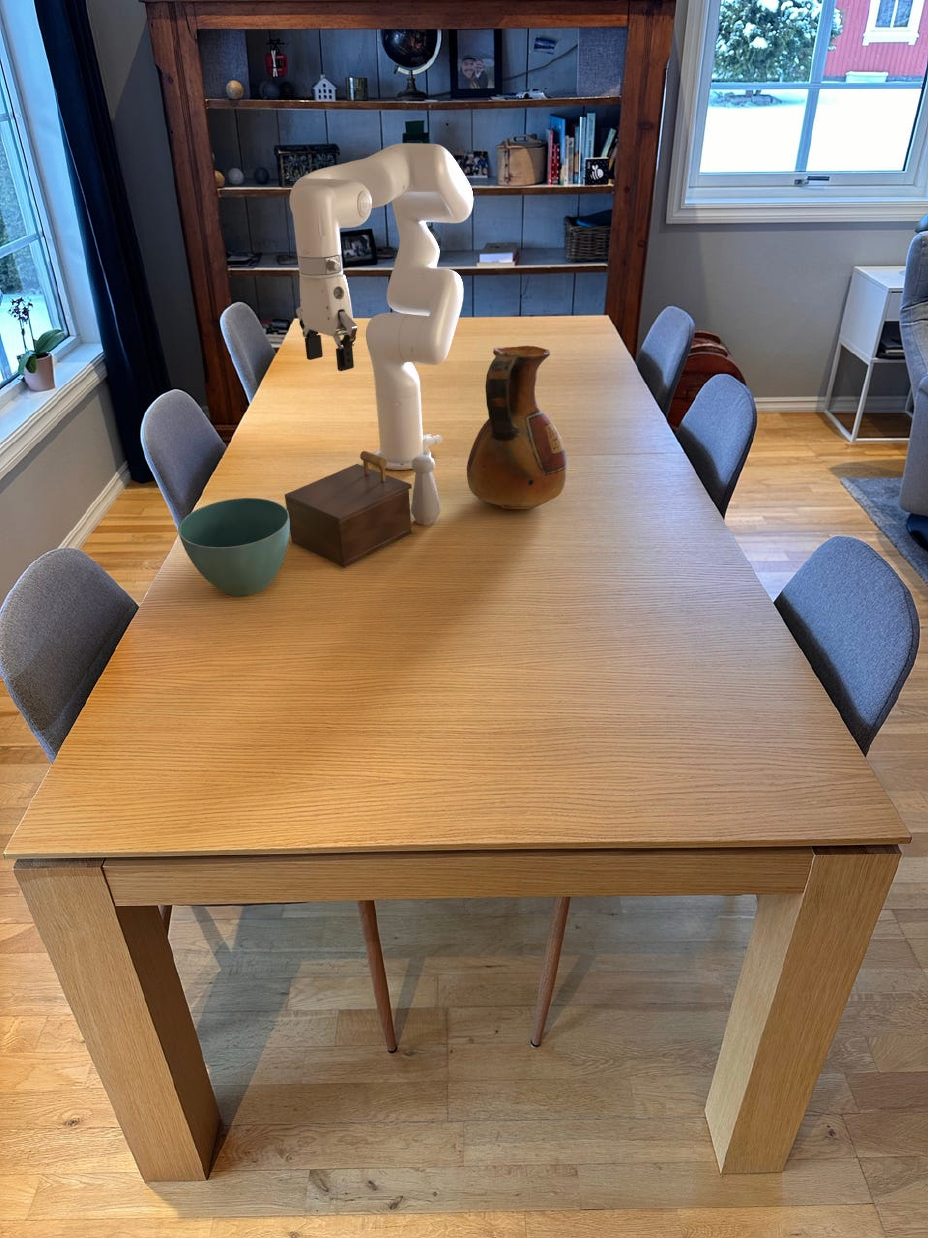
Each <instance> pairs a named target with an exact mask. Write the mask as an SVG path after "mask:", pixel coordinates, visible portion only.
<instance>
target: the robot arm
mask: <svg viewBox="0 0 928 1238" xmlns="http://www.w3.org/2000/svg"><path fill="white" fill-rule="evenodd" d="M289 193H290V194H289V202H288V203H289V208H290V211H291V213H292V220H293V228H294V229H293V230H294V238H295V246H296V247H295V248H296V256H297V265H298V274H299V275H298V276H299V303H300V305H299V306H298V307H297V308H296V310H295V312H296V316H297V318H298V320H299V321H298V322H299V324H298V325H299V327H300V328H301V330H302V332H301V334H302V336H303V338H304V344H305V345H304V346H305V355H306V359H307V360H308V361H312V360H317V359H320V358H323V356H324V355H323V353H324V351H323V345H322V335H326V336H328V337H332V338H333V340H334V342H335V345H336V346H337V348H335V357H336V366H337V367H336V368H337V371H338V372H344V371H348V370H351V369H353V368H355V366H354V365H355V364H354V363H355V361H354V351H353V350H354V349H353V347H354V346H355V342H356V339H357V332H358V324H357V323H356V322H355V321H354V317H353V309H352V308H353V307H352V302H351V296H350V289H349V286H348V282H347V278H346V275H345V274H344V268H343V267H344V266H343V257H342V255H343V254H342V246H341V245H342V243H341V231H340V229H345V228H348V229H349V228H357V227H360V226H361V225H363V224H364V223H365V222H367V220H368V219H369V217H370V215H371V212H372V209H375V208H380V207H384V206H386V205H388V204H389V203H391V206H392V210H393V215H394V219H395V222H396V223H395V224H396V226H397V231H398V237H399V246H398V250H397V254H396V257H395V261H394V264H393V268H392V271H391V275H390V278H389V282H388V284H387V290H386V302H387V305H388V306H389V308H390V309H391V310H393V311H395V312H382V313H378V314H376V315H374V316H372V317H371V319H370V320H369V321H368V323H367V326H366V329H365V342H366V346H367V350H368V354H369V357H370V360H371V365H372V372H373V380H374V390H375V391H374V392H375V402H376V403H375V404H376V416H377V427H378V438H379V440H378V441H379V449H377V450H376V451H375V452H374V454H375V455H378V456H381V457H384V458H386V459H387V464H386V466H385V470H393V471H404V470H407V471H408V470H413V469H412V461H413V459H414V458H415V457H417V456H430V457H431V458H432V451H431V450H430V448H432V446H436V445H440V444H442V443H443V442H444V439H443V437H442V434H437V435H434V436H432V434H431V433H427V434H424V433H423V432H424V431H423V416H422V397H421V381H420V377H419V374H418V372H417V370H416V368H415V366H414V365H423V366H424V365H425V366H437V365H441V364H442V363H443V362H444V361H445V360H446V359H447V357H448V356H449V355H448V354H449V352H450V349H451V347H452V346H451V345H452V344H453V343H452V342H453V339H454V335H455V332H456V329H457V325H458V322H459V318H460V315H461V311H462V307H463V301H464V283H463V281H462V278H461V276H460V275H459V274H458V272H457V271H454V270H453V269H450V268H446V267H437V266H438V263H439V258H440V248H439V245H438V242H437V241H436V239H435V237H434V234H432V232H431V231H430V229H429V228H428V226H427V224H426V223H441V224H442V223H444V224H460V223H463V222H464V221H466V220H468V218H469V217H470V215H471V214H472V211H473V207H474V206H473V205H474V196H473V190H472V187H471V185H470V183H469V180H468V179H467V176H466V175H465V173H464V172H463V170H462V169H461V167H460V165H459V164H458V162H457V161H456V159H455V158H454V157H453V155H452V154H451V152H450V151H448V149H447V148H445V147H444V146H442V145H441V144H437V143H413V142H411V143H410V142H409V143H407V142H406V143H405V142H403V143H395V144H394V143H393V144H391V145H389V146H387V147H385V148H383V149H381V150H379V151H377V152H375V153H373V154H371V155H369V156H368V157H365V158H361V159H357V160H356V159H355V160H351V161H348V162H345V163H340V164H336V165H333V166H332V165H331V166H327V167H323V168H320V169H316V170H314V171H312V172H309V173H308V174H305V175H303V176H301V177H300V178H298V179H297V181H296V182H295V183H294V184H293V186H292V188H291V190H290V192H289ZM321 334H322V335H321ZM341 336H343V338H341ZM413 364H414V365H413ZM423 434H424V435H423Z"/></svg>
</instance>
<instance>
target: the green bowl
mask: <svg viewBox="0 0 928 1238" xmlns="http://www.w3.org/2000/svg"><path fill="white" fill-rule="evenodd" d="M177 531H178V535H179V539H180V541H181V544H182V546H183V548H184V551H185V553H186V555H187V556H188V558H189V560H190V562H191V564H193V566H194V567H195V569H196V570H197V571H198V572H199V574H201V576H202V577H203V578H204V579H205V580H206V581H208V582H209V583H210V585H212V586H214V587H215V588H217V589H219V591H222V592H223V593H225V594H227V595H229V596H235V597H246V596H252V595H254V594H258V593H260V592H262V591H264V590H265V589H266V588H267V587H269V585H270V584H272V582H273V580H275V578H276V576H277V575H278V573H279V572H280V570H281V568H282V566H283V563H284V561H285V558H286V555H287V553H288V552H287V551H288V547H289V542H290V521H289V513H288V511H287V508H286V506H284V505H282V504H280V503H279V502H277V501H274V500H270V499H265V498H259V497H240V498H239V497H238V498H232V499H226V500H225V499H224V500H220V501H217V502H213V503H209V504H207V505H205V506H201V507H199V508H197V509H195V510H194V511H191V512H190V513H188V515H186V516H185V517H184V518H183V519H182V520H181V521H180V523H179V525H178V529H177Z"/></svg>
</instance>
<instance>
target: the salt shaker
mask: <svg viewBox="0 0 928 1238" xmlns="http://www.w3.org/2000/svg"><path fill="white" fill-rule="evenodd" d="M435 467H436V463H435V459H434V458H433V457H432V456H431V457H430V456H417V457H415V458H414V459H413V461H412V469H411V470H412V471H413V472H414V474H415V475H414V483H413V489H412V490H413V491H412V499H411V504H410V514H411V515H412V517H413V518H414V520H415V522H416V524H418V525H421V526H430V525H434V524H435V523H436V522H437V520H438V519H439V516H440V513H441V511H442V506H441V502H440V498H439V497H440V496H439V494H438V490H437V485H436V481H435V477H434V474H433V472H434V470H435Z"/></svg>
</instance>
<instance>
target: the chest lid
mask: <svg viewBox="0 0 928 1238" xmlns="http://www.w3.org/2000/svg"><path fill="white" fill-rule="evenodd" d="M359 458H360V460H361V461H363V462H362V463H363V465H362V464H360V463H355V464H352V465H350V466H348V467H346V468H343V469H341V470H339V471H337V472H333V473H332V474H329V475H327V476H325V477H322V478H320V479H318V480H315V481H313V482H310V483H308V484H306V485H304V486H301V487H299V488H296V489H294V490H292V491H289V492H288V493H285V494H284V500H285V499H287V500H290V501H292V502H294V503H296V504H299V505H301V506H303V507H306V508H308V509H310V510H312V511H315V512H317V513H319V514H321V515H324V516H326V517H328V518H331V519H333V520H335V521H337V522H341V521H343V520H345V519H347V518H349V517H352V516H354V515H356V514H358V513H360V512H362V511H364V510H366V509H368V508H371V507H373V506H375V505H377V504H379V503H381V502H383V501H385V500H388V499H390V498H392V497H394V496H396V495H398V494H400V493H402V492H404V491H407V490H409V491H410V490H411V489H412V488H413V486H412V485H413V484H412V483H409V482H407V481H404V480H402V479H399V478H396V477H394V476H391V475H388V474H386V468H385V466H386V464H387V459H386V458H384V457H381V456H378V455H375V453H373V452H370V451H367V450H363V451H362V450H361V452H360V455H359ZM369 464H372V465H374V466H377V467H379V471H377V470H375V469H373V468H370V465H369Z"/></svg>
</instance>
